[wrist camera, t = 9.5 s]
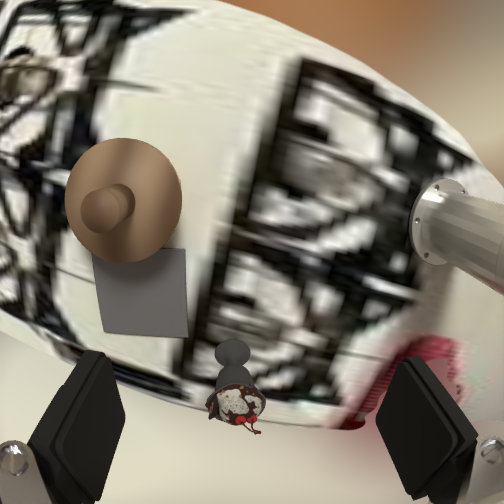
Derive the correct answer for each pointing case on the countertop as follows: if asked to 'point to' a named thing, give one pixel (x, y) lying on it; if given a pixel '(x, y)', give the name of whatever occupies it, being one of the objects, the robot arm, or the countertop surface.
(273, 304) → the countertop surface
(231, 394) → the sundae
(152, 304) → the mat
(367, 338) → the countertop surface
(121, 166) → the lid
